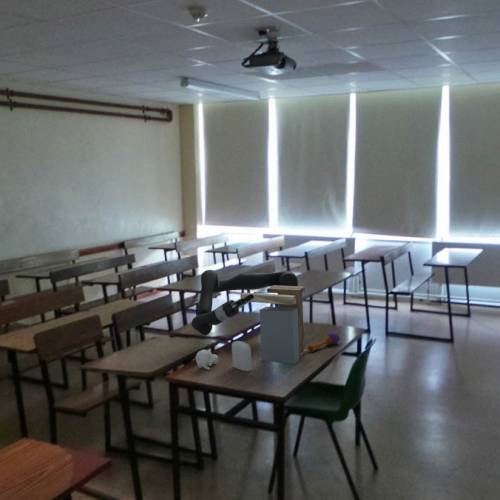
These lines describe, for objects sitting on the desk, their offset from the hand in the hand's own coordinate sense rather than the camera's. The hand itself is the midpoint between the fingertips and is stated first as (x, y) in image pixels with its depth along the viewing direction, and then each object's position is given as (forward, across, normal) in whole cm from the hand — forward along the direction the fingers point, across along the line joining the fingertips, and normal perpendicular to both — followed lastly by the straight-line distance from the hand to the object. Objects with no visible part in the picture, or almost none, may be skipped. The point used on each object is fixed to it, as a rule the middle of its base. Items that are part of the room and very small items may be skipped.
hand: (254, 294), depth 259 cm
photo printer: (-15, +16, -26) cm, 34 cm away
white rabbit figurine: (-29, +18, -18) cm, 39 cm away
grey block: (-5, 0, -32) cm, 32 cm away
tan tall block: (-5, -10, -32) cm, 34 cm away
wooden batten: (+4, 0, -6) cm, 7 cm away
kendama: (+6, -25, -39) cm, 47 cm away
